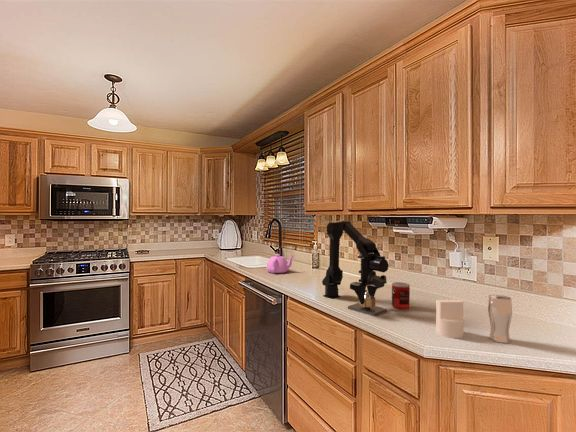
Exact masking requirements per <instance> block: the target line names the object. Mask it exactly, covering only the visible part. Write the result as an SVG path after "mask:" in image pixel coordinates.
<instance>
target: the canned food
mask: <svg viewBox="0 0 576 432" xmlns="http://www.w3.org/2000/svg"><path fill="white" fill-rule="evenodd" d="M410 290H411V289H410V283H406V282H399V281H397V282H395V281H394V282H392V284H391V306H392V307H393V308H394V309H396V310H408V309H409V308H410V305H411V304H410V300H411V298H410Z"/></svg>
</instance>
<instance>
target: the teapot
mask: <svg viewBox="0 0 576 432" xmlns="http://www.w3.org/2000/svg"><path fill="white" fill-rule="evenodd" d="M294 256H295V255H291V256H289V260H287V259H286V258H285V256H283V255H282V256H281V255H280V253H276V254H274V256H271V257H270V258H269V260H268V261H267V263H266V266H265V267H266V271H267V272H268V273H271V274H284V273H287V272H288V270H289V268H291V267H292V263H293V262H292V261H293V258H294Z"/></svg>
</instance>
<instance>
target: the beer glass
mask: <svg viewBox="0 0 576 432" xmlns="http://www.w3.org/2000/svg"><path fill="white" fill-rule="evenodd" d="M487 301H488V302H487V303H488V304H487V313H488V318H489V324H490V332H489V337H488V338H489V340H490V341H493V342H497V343H499V344H510V343H511V337H510V327H511V322H512V317H513V303H512V298H511V297H510V296H508V295H506V296H505V295H501V294H489V295H488V300H487Z"/></svg>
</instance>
